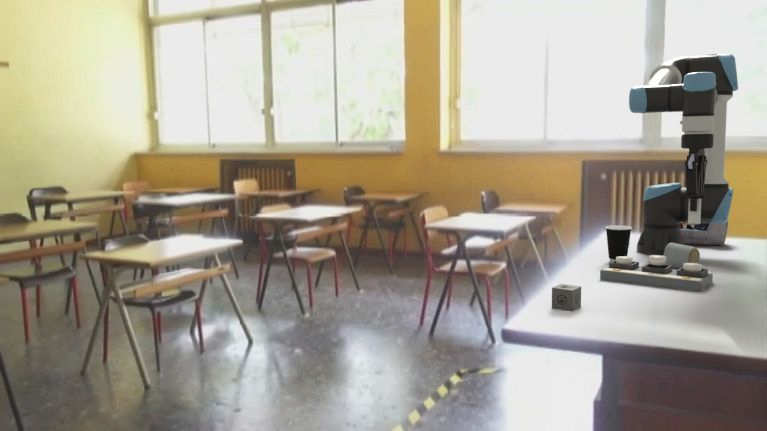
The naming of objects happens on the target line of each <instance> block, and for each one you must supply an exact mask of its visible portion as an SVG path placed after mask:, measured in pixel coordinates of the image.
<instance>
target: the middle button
mask: <svg viewBox="0 0 767 431" xmlns="http://www.w3.org/2000/svg"><path fill="white" fill-rule="evenodd" d="M648 263H649V264H651V265H666V257H665V256H663V255H648Z"/></svg>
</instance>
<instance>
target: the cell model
mask: <svg viewBox="0 0 767 431" xmlns="http://www.w3.org/2000/svg"><path fill="white" fill-rule="evenodd" d="M728 228H729V219H728V220H727V221H726V222H725V223H721V224H710V223H700V224H691V223H687V224H686V223H683V222H680V232H681V235H682V238H683V241H684V244H685V245H687V246H696V245H700V246H709V245H710V246H712V245H713V246H714V245H720V246H722V245H724V244H725V242H726V239H727V234H728Z"/></svg>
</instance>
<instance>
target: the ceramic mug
mask: <svg viewBox="0 0 767 431" xmlns="http://www.w3.org/2000/svg"><path fill="white" fill-rule="evenodd" d="M662 256H665V257H666V265H672V269H673V270H678V269H680V268H682V267H683V265H684V263H698V264H700V258H701V255H700V250H699V249H698V248H697V247H694V246H693V245H681V244H676V243H669V244H668V245H667V246H666V248H665V250H664V255H662Z"/></svg>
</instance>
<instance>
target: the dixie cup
mask: <svg viewBox="0 0 767 431" xmlns="http://www.w3.org/2000/svg"><path fill="white" fill-rule="evenodd" d="M605 229H606V243H607V252H608V259H609V263H611V262H613V261H615V260H616V257H618V256H628V253H629V246H630V238H631V232H632V229H633V227H631V226H629V225H607V226H605Z"/></svg>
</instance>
